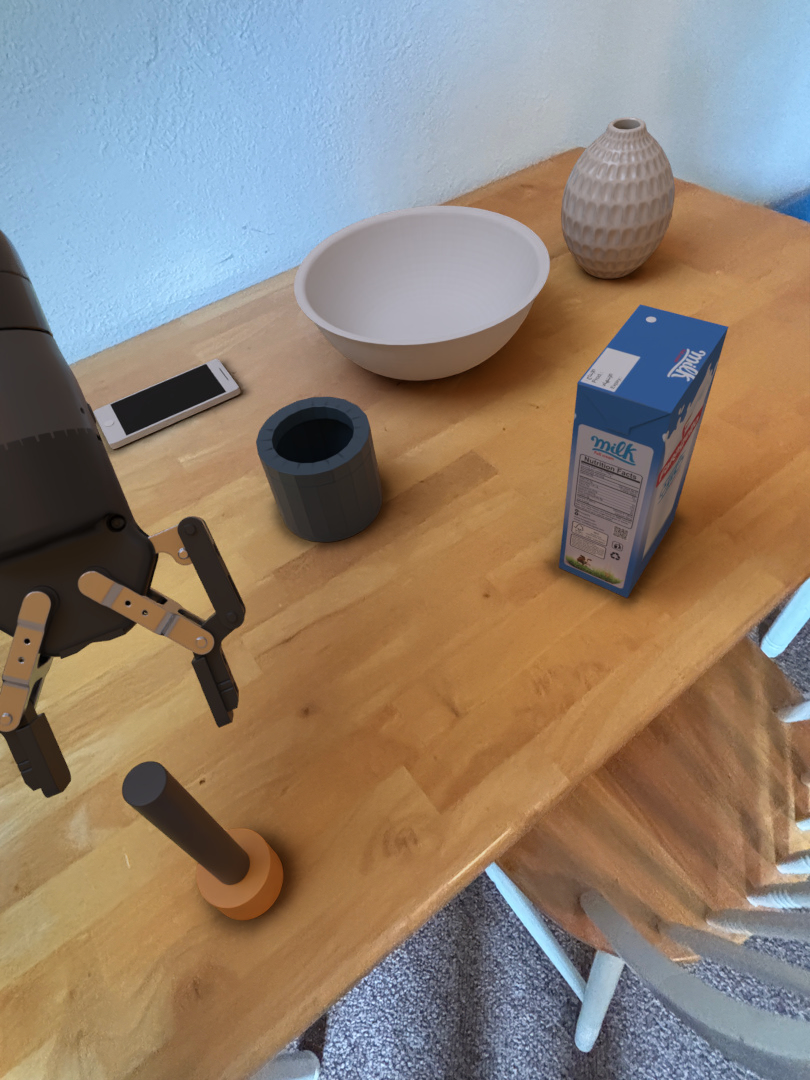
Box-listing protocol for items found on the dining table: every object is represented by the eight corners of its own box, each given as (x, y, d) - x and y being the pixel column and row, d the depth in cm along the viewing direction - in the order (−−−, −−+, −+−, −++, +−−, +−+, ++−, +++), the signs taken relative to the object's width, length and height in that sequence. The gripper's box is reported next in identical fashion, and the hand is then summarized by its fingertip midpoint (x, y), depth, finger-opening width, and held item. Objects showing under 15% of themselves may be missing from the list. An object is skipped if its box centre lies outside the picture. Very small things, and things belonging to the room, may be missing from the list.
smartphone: (95, 416, 81) (91, 409, 80) (219, 363, 85) (217, 356, 84) (112, 450, 77) (108, 444, 76) (242, 393, 81) (239, 387, 80)
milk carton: (626, 599, 58) (670, 412, 43) (558, 568, 61) (576, 382, 46) (674, 519, 63) (729, 325, 48) (608, 494, 66) (640, 303, 50)
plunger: (229, 936, 46) (110, 856, 32) (202, 870, 48) (82, 770, 34) (295, 891, 47) (208, 796, 33) (265, 829, 50) (173, 717, 36)
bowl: (284, 324, 89) (264, 249, 81) (478, 260, 94) (476, 183, 86) (361, 457, 72) (344, 378, 65) (592, 371, 77) (602, 288, 69)
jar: (309, 559, 65) (286, 492, 58) (264, 495, 70) (238, 427, 63) (402, 509, 67) (390, 439, 60) (351, 452, 73) (335, 382, 66)
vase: (538, 258, 93) (545, 119, 80) (623, 230, 95) (642, 91, 82) (592, 305, 85) (608, 160, 72) (683, 274, 87) (715, 127, 74)
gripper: (-192, 499, 29) (-30, 850, 31) (149, 388, 31) (281, 720, 33) (-99, 501, 36) (27, 784, 38) (171, 411, 39) (278, 681, 40)
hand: (145, 754), depth 36 cm, fingers open, 8 cm apart
